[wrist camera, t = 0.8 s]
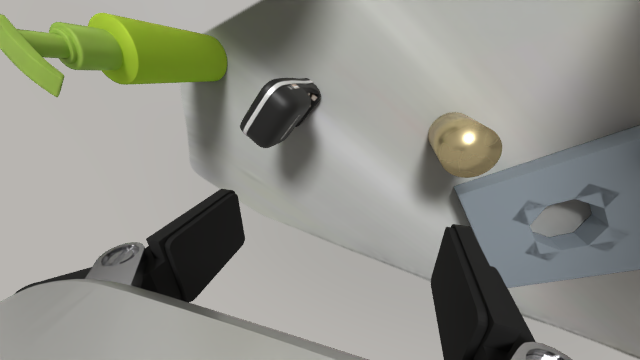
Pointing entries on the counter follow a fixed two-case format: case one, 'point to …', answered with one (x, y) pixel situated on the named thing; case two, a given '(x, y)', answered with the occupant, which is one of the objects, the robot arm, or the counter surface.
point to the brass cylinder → (464, 145)
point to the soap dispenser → (114, 52)
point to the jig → (555, 187)
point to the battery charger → (279, 110)
